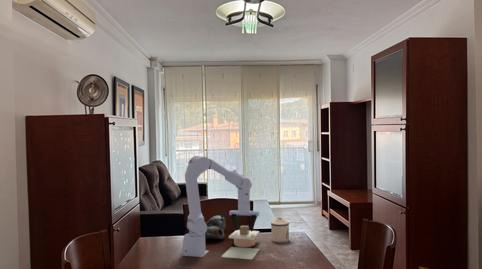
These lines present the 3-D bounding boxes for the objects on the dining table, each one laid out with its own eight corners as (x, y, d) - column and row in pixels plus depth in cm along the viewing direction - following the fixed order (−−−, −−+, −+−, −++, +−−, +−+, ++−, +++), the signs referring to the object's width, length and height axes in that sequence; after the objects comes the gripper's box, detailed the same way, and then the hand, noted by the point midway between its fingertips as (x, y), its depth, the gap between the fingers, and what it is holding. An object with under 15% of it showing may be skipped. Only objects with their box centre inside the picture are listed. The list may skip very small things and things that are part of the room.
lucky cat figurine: (194, 238, 188) (201, 212, 194) (215, 244, 192) (221, 218, 198) (206, 236, 175) (212, 208, 181) (227, 242, 180) (233, 215, 186)
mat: (221, 257, 157) (220, 256, 157) (231, 247, 171) (231, 246, 171) (251, 260, 153) (251, 259, 153) (259, 249, 167) (259, 248, 167)
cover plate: (228, 238, 171) (228, 229, 171) (236, 231, 182) (236, 222, 182) (253, 239, 167) (252, 230, 167) (259, 232, 179) (259, 224, 179)
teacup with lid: (290, 242, 176) (289, 219, 176) (271, 243, 176) (271, 219, 176) (287, 235, 188) (287, 213, 188) (270, 236, 188) (269, 213, 188)
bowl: (231, 247, 172) (231, 237, 172) (238, 240, 181) (237, 231, 181) (252, 248, 169) (251, 238, 169) (257, 242, 178) (257, 233, 178)
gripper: (260, 201, 177) (261, 229, 177) (232, 200, 181) (232, 227, 181) (256, 204, 170) (257, 232, 170) (227, 203, 174) (228, 231, 174)
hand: (244, 230), depth 175 cm, fingers open, 7 cm apart
